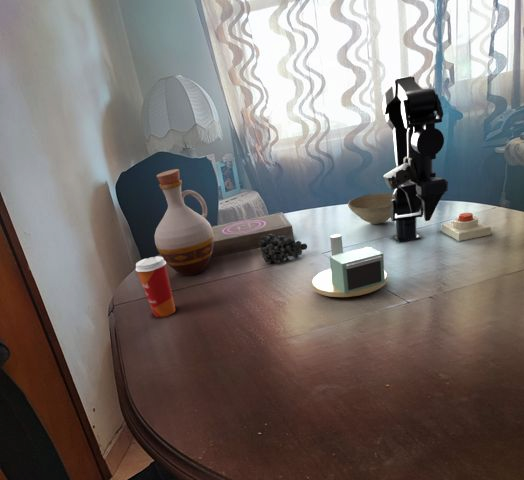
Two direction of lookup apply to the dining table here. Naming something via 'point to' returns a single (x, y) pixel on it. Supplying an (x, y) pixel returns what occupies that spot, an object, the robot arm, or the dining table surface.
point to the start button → (465, 217)
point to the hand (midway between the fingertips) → (420, 216)
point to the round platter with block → (351, 271)
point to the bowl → (372, 207)
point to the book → (248, 233)
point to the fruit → (279, 248)
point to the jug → (183, 229)
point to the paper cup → (156, 285)
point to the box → (466, 229)
